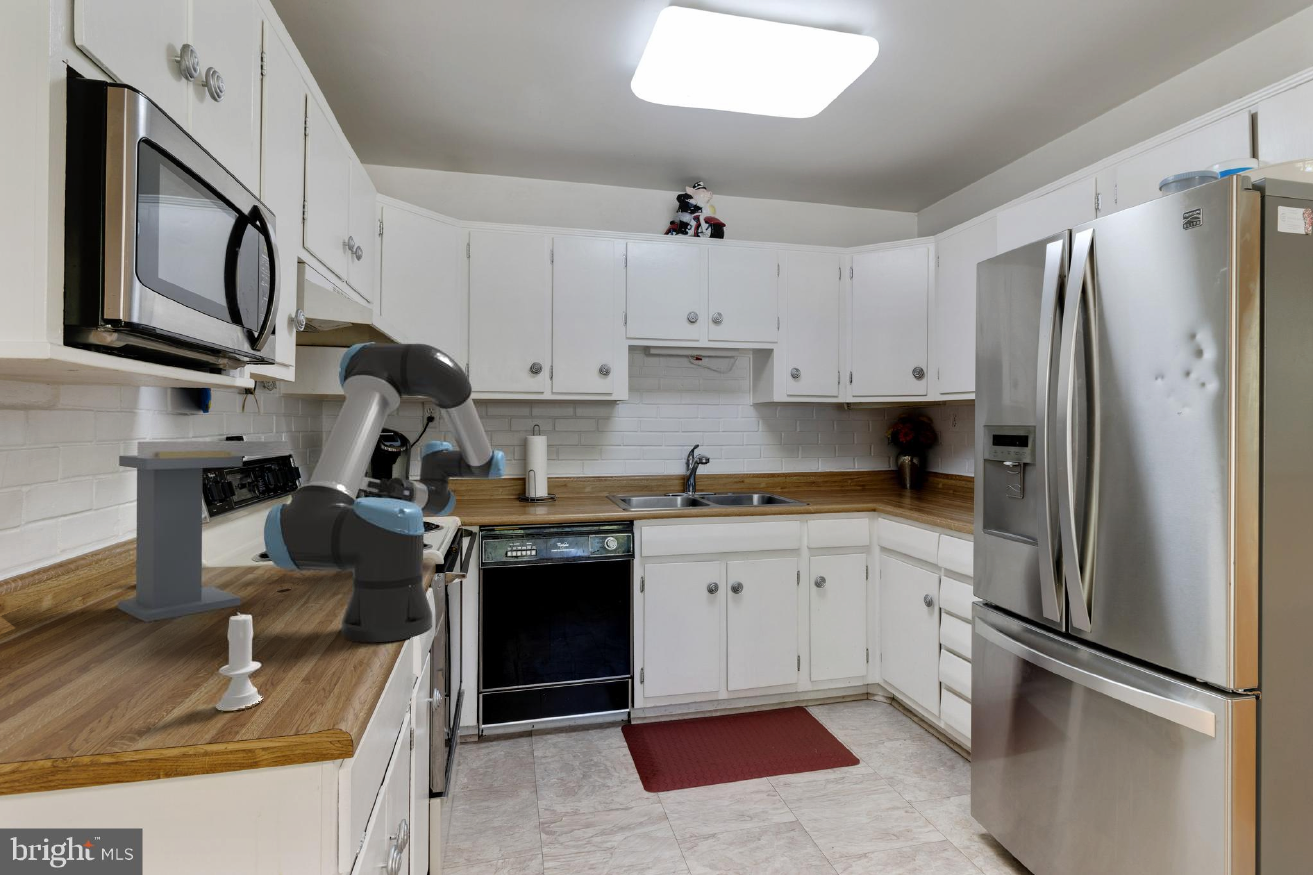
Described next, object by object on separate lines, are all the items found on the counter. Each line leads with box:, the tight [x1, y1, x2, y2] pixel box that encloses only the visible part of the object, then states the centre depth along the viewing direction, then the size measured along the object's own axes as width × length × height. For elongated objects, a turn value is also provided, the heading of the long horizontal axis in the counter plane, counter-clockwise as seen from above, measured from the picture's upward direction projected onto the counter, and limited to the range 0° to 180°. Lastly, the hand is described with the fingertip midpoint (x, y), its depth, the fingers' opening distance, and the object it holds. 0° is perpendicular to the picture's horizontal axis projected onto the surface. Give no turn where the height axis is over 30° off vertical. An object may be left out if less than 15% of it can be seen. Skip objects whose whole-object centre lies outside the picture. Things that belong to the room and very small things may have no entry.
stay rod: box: [136, 440, 290, 458], centre depth 134 cm, size 26×3×3 cm, turn 144°
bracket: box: [158, 452, 232, 458], centre depth 130 cm, size 12×7×1 cm, turn 144°
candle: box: [215, 612, 264, 711], centre depth 87 cm, size 5×5×12 cm
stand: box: [117, 454, 243, 623], centre depth 133 cm, size 16×15×30 cm
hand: (333, 478), depth 150 cm, fingers open, 13 cm apart
